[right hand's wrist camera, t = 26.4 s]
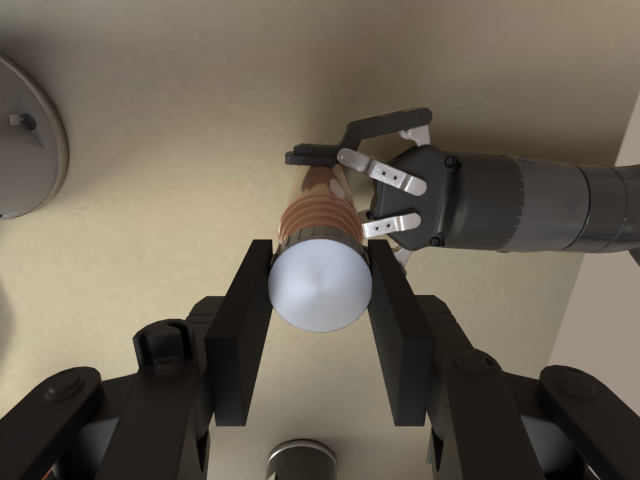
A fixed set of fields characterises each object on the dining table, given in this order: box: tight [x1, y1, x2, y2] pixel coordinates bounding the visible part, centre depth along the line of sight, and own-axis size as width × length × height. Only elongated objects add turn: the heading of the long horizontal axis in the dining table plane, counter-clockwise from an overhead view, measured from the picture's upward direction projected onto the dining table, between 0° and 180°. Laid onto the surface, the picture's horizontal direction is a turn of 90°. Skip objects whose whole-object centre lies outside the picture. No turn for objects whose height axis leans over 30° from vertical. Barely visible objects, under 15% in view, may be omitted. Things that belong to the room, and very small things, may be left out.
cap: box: [268, 225, 372, 333], centre depth 14 cm, size 4×4×2 cm
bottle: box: [278, 164, 363, 245], centre depth 24 cm, size 4×4×21 cm
